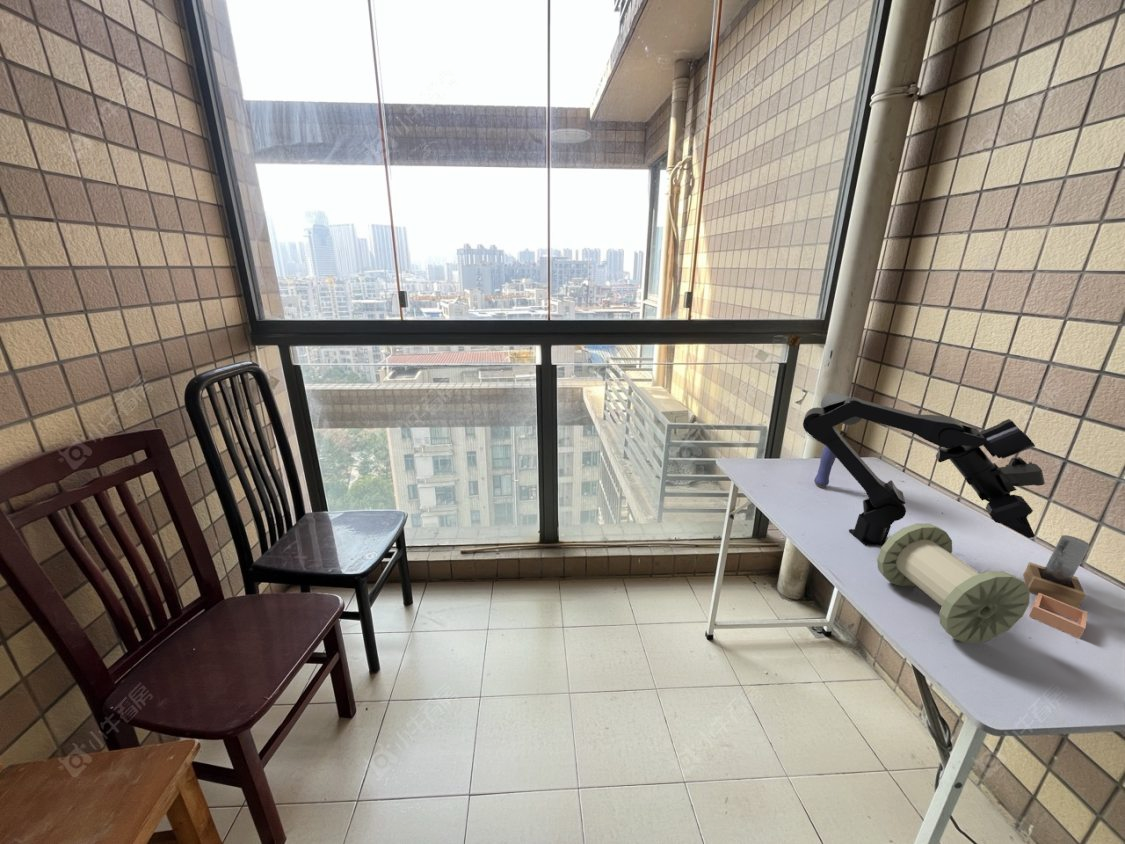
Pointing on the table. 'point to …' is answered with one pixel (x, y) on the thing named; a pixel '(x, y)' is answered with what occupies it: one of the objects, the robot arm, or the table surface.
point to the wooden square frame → (1053, 586)
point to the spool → (953, 583)
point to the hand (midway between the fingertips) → (1024, 526)
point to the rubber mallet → (827, 455)
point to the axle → (1065, 560)
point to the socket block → (1056, 620)
